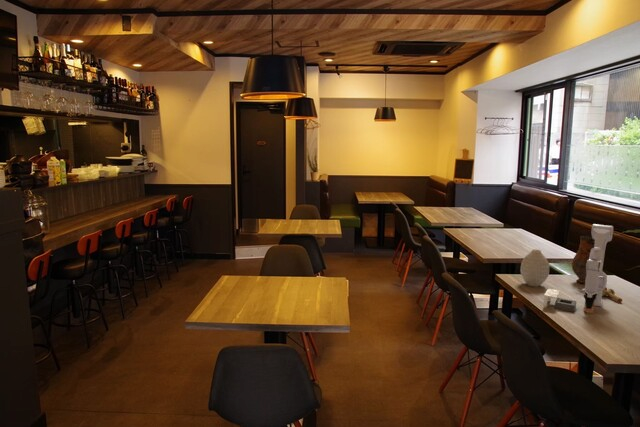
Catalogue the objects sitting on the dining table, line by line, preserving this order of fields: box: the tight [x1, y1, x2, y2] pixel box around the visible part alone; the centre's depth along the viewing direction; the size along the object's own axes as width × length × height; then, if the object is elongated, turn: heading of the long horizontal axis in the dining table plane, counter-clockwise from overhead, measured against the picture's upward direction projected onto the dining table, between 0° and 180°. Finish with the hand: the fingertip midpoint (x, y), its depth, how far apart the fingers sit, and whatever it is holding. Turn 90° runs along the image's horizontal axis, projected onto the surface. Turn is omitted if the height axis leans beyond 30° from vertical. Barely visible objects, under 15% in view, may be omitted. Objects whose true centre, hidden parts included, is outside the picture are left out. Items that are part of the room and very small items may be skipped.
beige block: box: [543, 288, 561, 309], centre depth 259 cm, size 14×6×7 cm, turn 146°
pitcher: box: [571, 235, 595, 286], centre depth 300 cm, size 17×21×30 cm
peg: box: [583, 300, 595, 314], centre depth 250 cm, size 4×4×8 cm
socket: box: [554, 297, 577, 313], centre depth 256 cm, size 9×9×4 cm
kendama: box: [602, 287, 623, 304], centre depth 275 cm, size 8×6×18 cm
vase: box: [520, 248, 550, 288], centre depth 295 cm, size 16×16×22 cm
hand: (589, 307), depth 250 cm, fingers closed on peg, 4 cm apart
